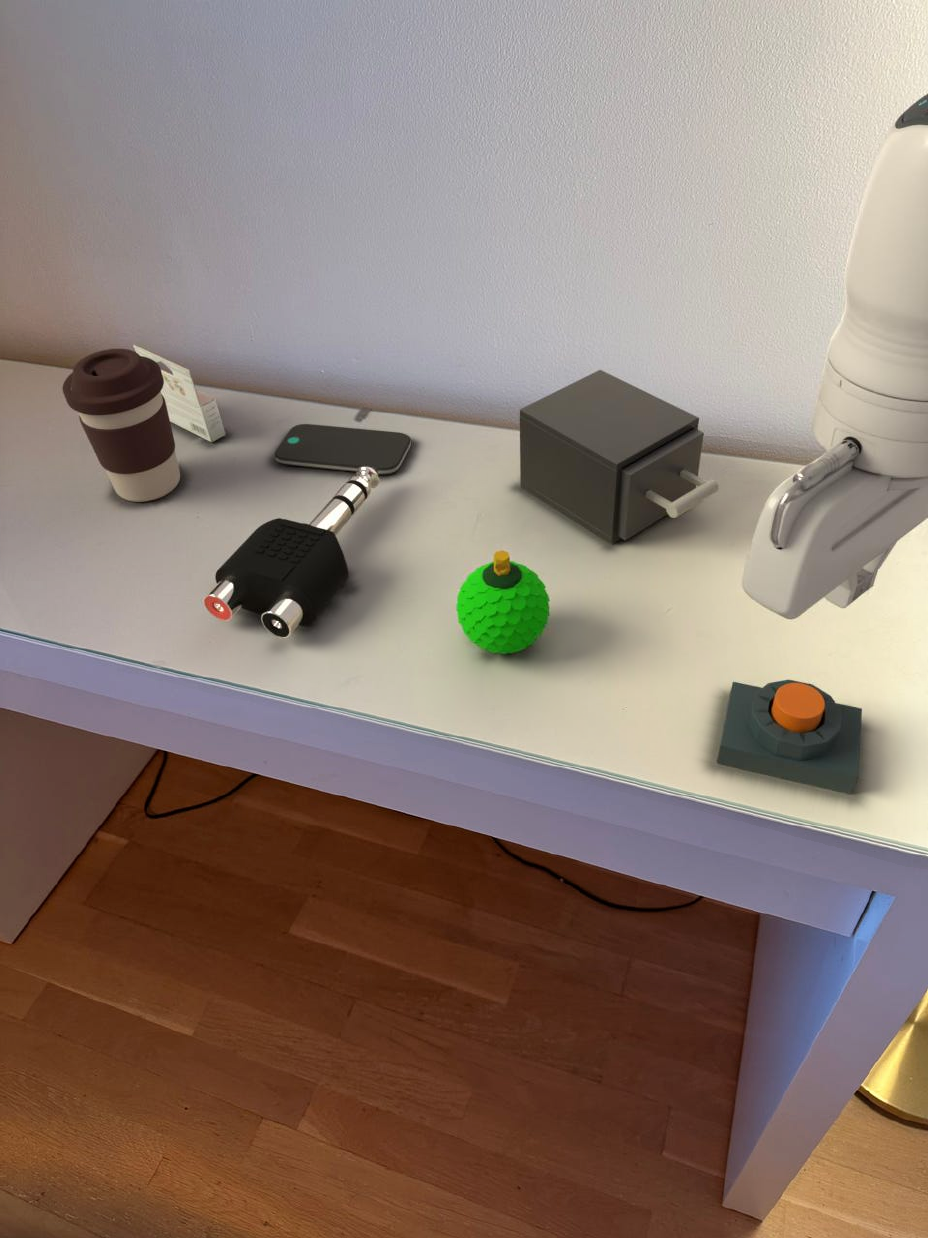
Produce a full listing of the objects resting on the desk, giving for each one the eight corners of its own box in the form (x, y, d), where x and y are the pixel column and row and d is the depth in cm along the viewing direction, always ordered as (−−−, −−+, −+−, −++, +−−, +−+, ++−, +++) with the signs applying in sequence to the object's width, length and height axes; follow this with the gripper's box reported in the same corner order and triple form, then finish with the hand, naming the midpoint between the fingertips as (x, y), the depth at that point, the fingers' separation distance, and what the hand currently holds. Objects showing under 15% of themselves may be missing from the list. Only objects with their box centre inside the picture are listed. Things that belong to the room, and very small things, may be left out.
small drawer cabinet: (688, 497, 98) (699, 417, 91) (611, 544, 93) (617, 464, 86) (595, 445, 106) (600, 368, 99) (520, 486, 101) (519, 409, 94)
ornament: (549, 610, 86) (551, 525, 79) (548, 674, 80) (549, 588, 74) (463, 609, 87) (457, 524, 80) (455, 672, 81) (448, 587, 74)
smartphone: (294, 421, 111) (414, 432, 108) (295, 428, 111) (414, 439, 108) (269, 457, 106) (395, 470, 102) (270, 463, 106) (395, 476, 103)
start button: (821, 703, 72) (826, 688, 71) (818, 738, 70) (823, 723, 68) (774, 693, 73) (777, 678, 72) (768, 727, 71) (772, 712, 69)
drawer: (727, 515, 94) (738, 449, 88) (657, 560, 89) (665, 494, 84) (607, 448, 103) (611, 386, 98) (538, 486, 99) (539, 423, 94)
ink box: (170, 407, 117) (148, 335, 110) (226, 435, 111) (207, 361, 105) (154, 415, 116) (131, 343, 109) (210, 444, 110) (189, 370, 103)
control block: (855, 726, 75) (867, 692, 72) (851, 794, 70) (863, 762, 67) (728, 699, 77) (736, 666, 75) (716, 763, 73) (723, 730, 70)
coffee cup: (200, 457, 108) (164, 337, 98) (184, 508, 101) (144, 384, 91) (116, 462, 108) (71, 343, 98) (94, 513, 101) (43, 391, 91)
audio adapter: (190, 580, 84) (328, 437, 100) (204, 622, 88) (335, 478, 104) (293, 609, 80) (419, 456, 96) (303, 652, 84) (423, 498, 100)
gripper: (837, 512, 45) (788, 701, 55) (1048, 362, 54) (975, 548, 63) (733, 460, 49) (704, 646, 58) (946, 328, 58) (891, 508, 67)
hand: (846, 594), depth 61 cm, fingers closed
